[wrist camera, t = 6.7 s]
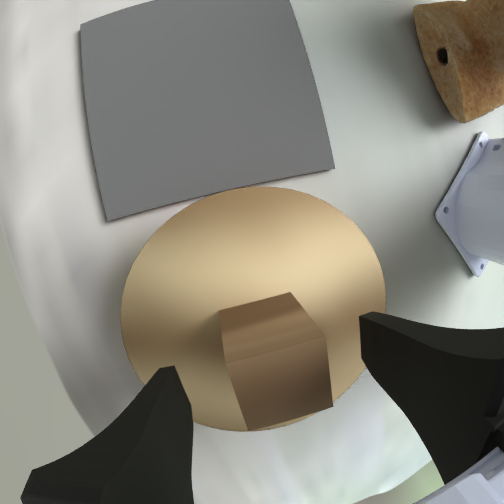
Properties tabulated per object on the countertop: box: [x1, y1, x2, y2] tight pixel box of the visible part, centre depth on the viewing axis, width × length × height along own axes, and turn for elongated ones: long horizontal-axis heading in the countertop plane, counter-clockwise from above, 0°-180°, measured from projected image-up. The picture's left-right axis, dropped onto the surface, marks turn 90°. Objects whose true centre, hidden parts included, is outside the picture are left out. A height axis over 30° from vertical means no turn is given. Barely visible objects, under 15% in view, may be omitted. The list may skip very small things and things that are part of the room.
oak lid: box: [120, 187, 386, 432], centre depth 11 cm, size 12×12×5 cm
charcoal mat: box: [81, 0, 335, 221], centre depth 15 cm, size 13×13×1 cm
